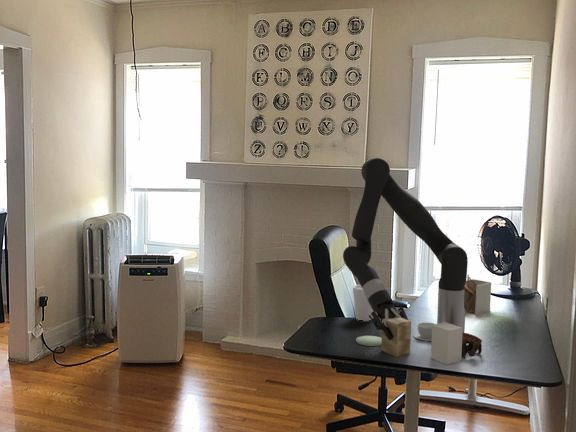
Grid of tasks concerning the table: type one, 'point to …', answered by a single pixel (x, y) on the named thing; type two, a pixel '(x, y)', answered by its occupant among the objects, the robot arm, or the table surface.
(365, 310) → the foam cup
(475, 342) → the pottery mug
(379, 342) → the felt mat
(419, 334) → the teacup
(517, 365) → the table surface
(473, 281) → the two-tone wooden box
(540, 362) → the table surface
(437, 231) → the robot arm
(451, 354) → the tall cream pedestal
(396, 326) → the tan cardboard box
